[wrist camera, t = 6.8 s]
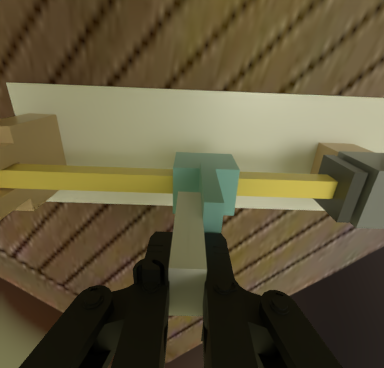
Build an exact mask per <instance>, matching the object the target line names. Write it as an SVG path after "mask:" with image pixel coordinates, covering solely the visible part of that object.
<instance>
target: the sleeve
mask: <svg viewBox="0 0 384 368" xmlns="http://www.w3.org/2000/svg"><path fill="white" fill-rule="evenodd" d="M239 173H240V169H239V167H238V166H237V164H236V162H235V160H234V158H233V156H232V154H216V153H189V152H176V156H175V160H174V165H173V214H175V212H176V204H177V196H178V192H201V203H202V215H203V225H204V233H221V229H222V220H223V215H234V210H235V202H236V195H237V188H238V180H239Z"/></svg>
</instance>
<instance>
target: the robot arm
mask: <svg viewBox="0 0 384 368" xmlns="http://www.w3.org/2000/svg"><path fill="white" fill-rule="evenodd" d="M133 277H134V284H133V285H131V286H129V287H127V288H124V289H121V290H117V291H113V292H111V290H110V289H109V288H107V287H105V286H100V285H96V286H92V287H89V288H87V289H85V290H84V291H82V292H81V293H80V294H79V295H78V296H77V297H76V298H75V300H74V301H73V302H72V303H71V304H70V306H69V307H68V308H67V309H66V311H65V312H64V313H63V314H62V316H61V317H60V318H59V319H58V321H57V322H56V323H55V324H54V325H53V327H52V328H51V329H50V330H49V331H48V333H47V334H46V335H45V336H44V338H43V339H42V340H41V341H40V343H39V344H38V345H37V346H36V347H35V349H34V350H33V351H32V352H31V354H30V355H29V356H28V357H27V358H26V360H25V361H24V362H23V363H22V364H21V366H20V367H19V368H107V367H108V365H109V363H110V361H111V360H112V357H113V356H114V354H115V356H114V359H113V362H112V366H111V368H164V365H165V355H166V344H167V333H168V315H180V316H203V329H202V339H201V341H203V357H204V368H258V367H259V368H342V366H341V365H340V363H339V362H338V361H337V359H336V358H335V357H334V355H333V354H332V352H331V351H330V350H329V348H328V347H327V346H326V344H325V343H324V341H323V340H322V339H321V337H320V336H319V334H318V333H317V332H316V330H315V329H314V328H313V326H312V325H311V323H310V322H309V321H308V319H307V318H306V317H305V315H304V314H303V312H302V311H301V310H300V308H299V307H298V306H297V304H296V303H295V301H294V300H293V299H292V298H291V297H290V296H288V295H287V294H285V293H283V292H280V291H277V290H269V291H267V292H264V294H263V295H262V296H260V295H257V294H254V293H251V292H249V291H246V290H245V289H243V288H242V287H240V286H239V285H238V283H237V282H236V281H235V278H234V275H233V270H232V266H231V261H230V256H229V251H228V248H227V242H226V239H225V238H224V237H223V235H222V234H221V233H204V225H203V215H202V203H201V192H178V196H177V204H176V212H175V220H174V228H173V232H155V233H154V234H153V235H152V236H151V237H150V240H149V244H148V248H147V252H146V255H145V259H142V260H140V261H139V262H138V263H136V264H135V266H134V268H133Z"/></svg>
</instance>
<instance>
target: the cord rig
mask: <svg viewBox="0 0 384 368" xmlns="http://www.w3.org/2000/svg"><path fill="white" fill-rule="evenodd" d="M6 84H7V88H8V92H9V95H10V99H11V102H12V106H13V109H14V113H15V116H13V117H8V118H3V119H0V220H1V219H2V218H4V217H5V216H7V215H8V214H9V213H11V212H12V211H13V210H16V211H35V210H36V209H37V208H38V207H40V206H41V205H42V204H43V203H44V202H77V203H107V204H138V205H168V206H173V165H174V160H175V156H176V152H189V153H216V154H232V156H233V158H234V160H235V162H236V164H237V166H238V167H239V169H240V173H239V180H238V188H237V195H236V202H235V208H260V209H290V210H321V211H326V212H327V213H328V214H329V215H330V216H331V217H332V218H333V219H334V220H335V221H336V222H347V223H349V222H350V223H351V224H352V225H353V226H354V227H356V228H374V229H384V98H380V97H356V96H331V95H307V94H283V93H258V92H234V91H210V90H186V89H161V88H137V87H113V86H88V85H64V84H40V83H15V82H11V83H6Z"/></svg>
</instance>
